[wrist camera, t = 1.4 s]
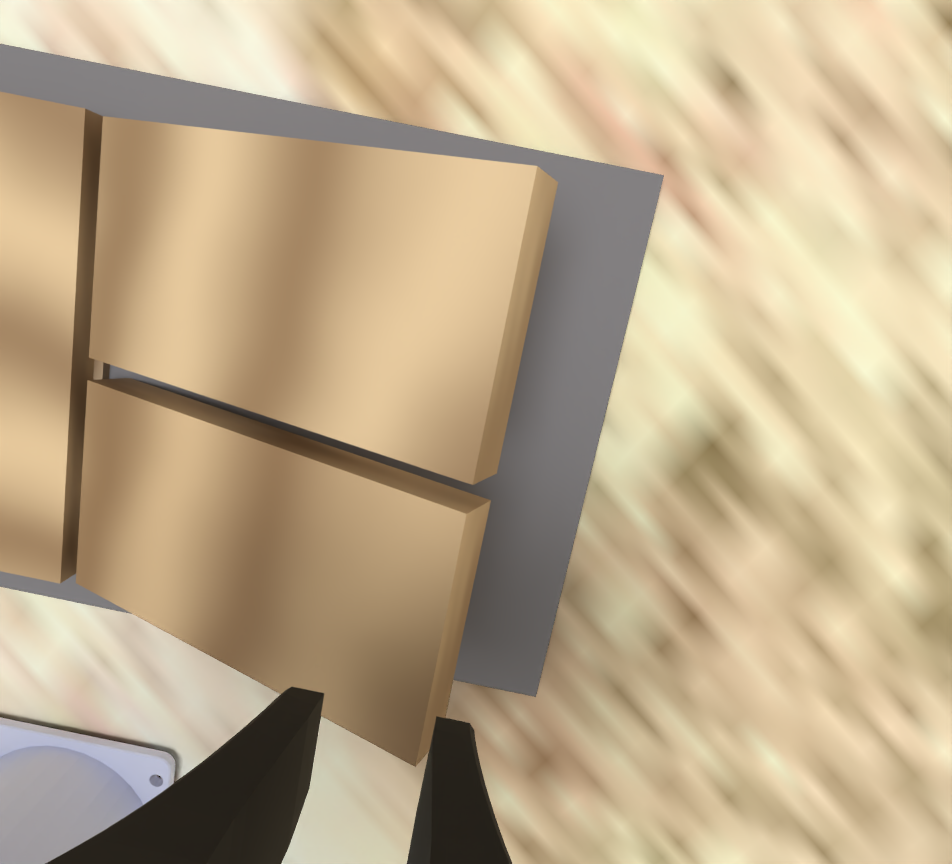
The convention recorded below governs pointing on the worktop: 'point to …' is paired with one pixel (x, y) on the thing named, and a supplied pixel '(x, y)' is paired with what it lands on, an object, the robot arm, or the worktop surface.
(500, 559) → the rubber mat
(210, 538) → the oak plank
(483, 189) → the oak plank
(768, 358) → the worktop surface
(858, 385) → the worktop surface
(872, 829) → the worktop surface
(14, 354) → the oak panel
